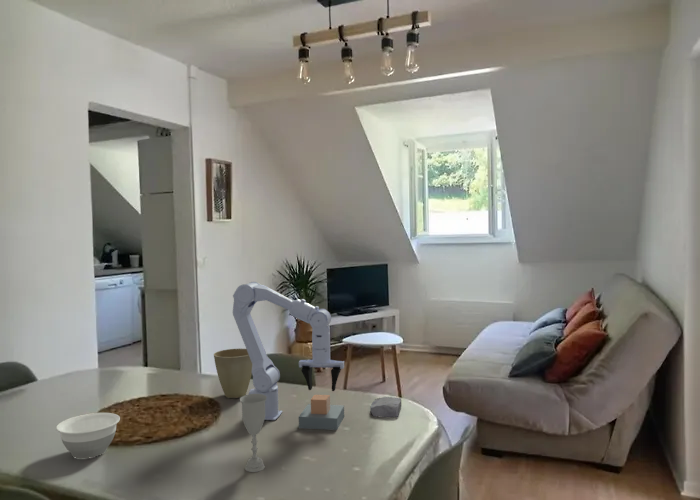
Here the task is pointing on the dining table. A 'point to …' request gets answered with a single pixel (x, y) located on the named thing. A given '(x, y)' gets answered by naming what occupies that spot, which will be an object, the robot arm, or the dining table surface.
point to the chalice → (253, 425)
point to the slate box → (322, 418)
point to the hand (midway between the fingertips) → (321, 389)
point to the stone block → (386, 407)
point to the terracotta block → (320, 404)
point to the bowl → (88, 433)
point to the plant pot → (233, 371)
